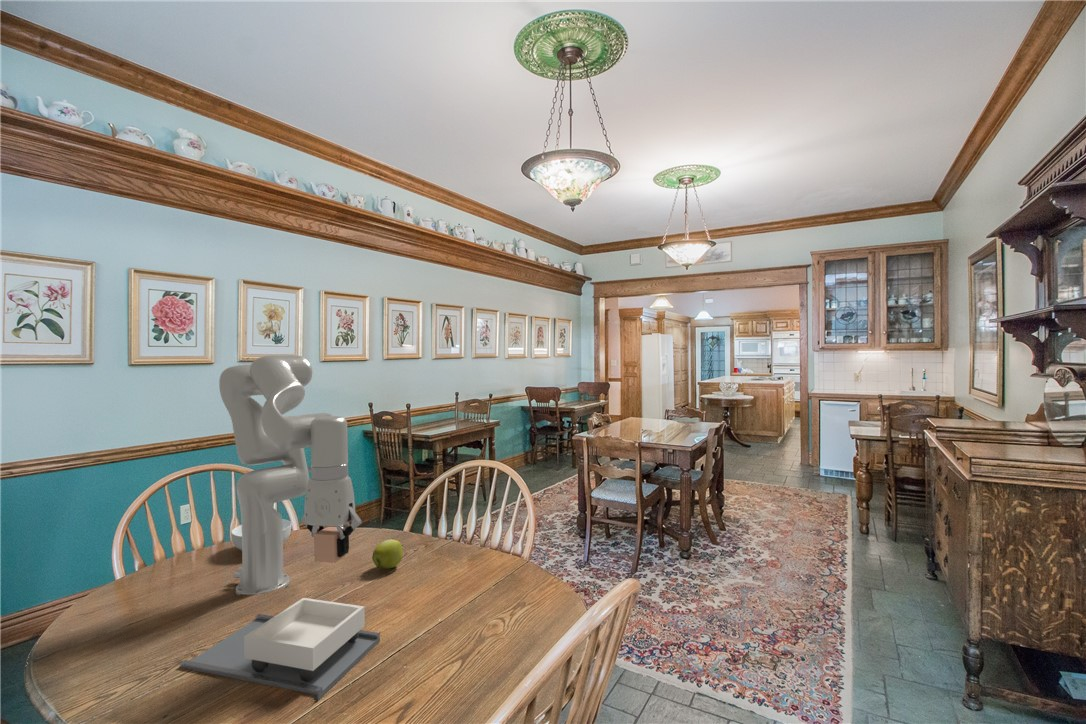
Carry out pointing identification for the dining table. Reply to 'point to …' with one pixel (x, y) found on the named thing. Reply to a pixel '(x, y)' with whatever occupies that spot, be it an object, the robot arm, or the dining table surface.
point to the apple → (388, 554)
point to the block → (327, 545)
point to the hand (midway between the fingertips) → (331, 553)
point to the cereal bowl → (237, 533)
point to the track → (233, 663)
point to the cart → (304, 635)
